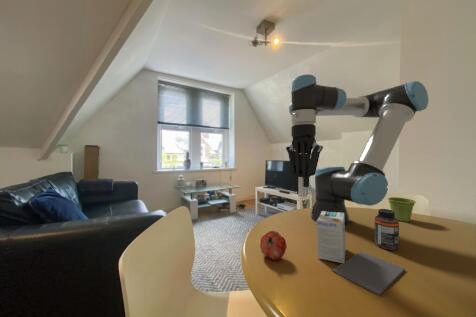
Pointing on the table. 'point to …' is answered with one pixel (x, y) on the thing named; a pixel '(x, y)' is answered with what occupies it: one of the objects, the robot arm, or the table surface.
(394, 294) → the table surface
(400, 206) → the plant pot
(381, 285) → the mat
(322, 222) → the light bulb box
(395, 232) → the supplement bottle
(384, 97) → the robot arm
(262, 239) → the red round fruit
